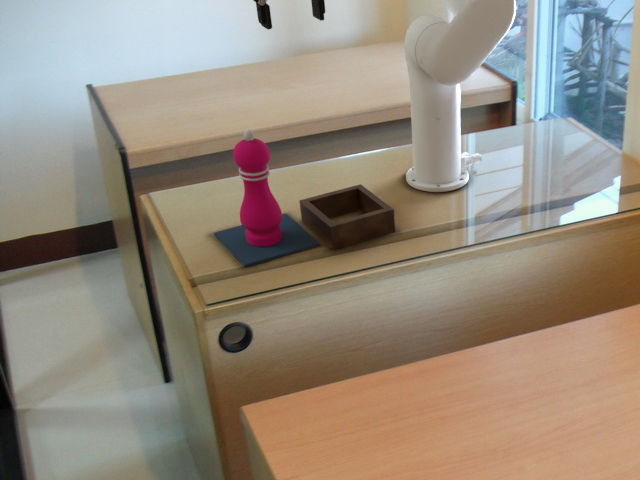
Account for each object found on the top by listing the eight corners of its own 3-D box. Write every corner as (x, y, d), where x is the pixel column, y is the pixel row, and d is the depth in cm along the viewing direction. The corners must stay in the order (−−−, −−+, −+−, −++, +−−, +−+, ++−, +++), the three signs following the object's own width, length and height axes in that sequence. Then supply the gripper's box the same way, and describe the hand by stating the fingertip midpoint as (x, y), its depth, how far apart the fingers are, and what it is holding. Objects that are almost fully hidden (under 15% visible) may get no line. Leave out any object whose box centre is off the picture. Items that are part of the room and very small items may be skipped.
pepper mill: (290, 231, 169) (276, 124, 158) (277, 250, 164) (261, 141, 152) (252, 227, 170) (235, 121, 158) (237, 246, 165) (218, 138, 153)
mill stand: (362, 205, 179) (360, 184, 177) (395, 231, 171) (394, 209, 168) (301, 222, 173) (299, 200, 171) (332, 250, 165) (330, 227, 162)
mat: (286, 215, 175) (285, 213, 175) (319, 245, 166) (319, 243, 166) (214, 235, 169) (213, 232, 169) (244, 267, 160) (244, 264, 159)
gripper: (238, -77, 144) (254, 36, 154) (339, -88, 152) (348, 20, 163) (220, -85, 149) (236, 25, 159) (319, -96, 157) (328, 10, 168)
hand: (293, 22), depth 161 cm, fingers open, 9 cm apart
